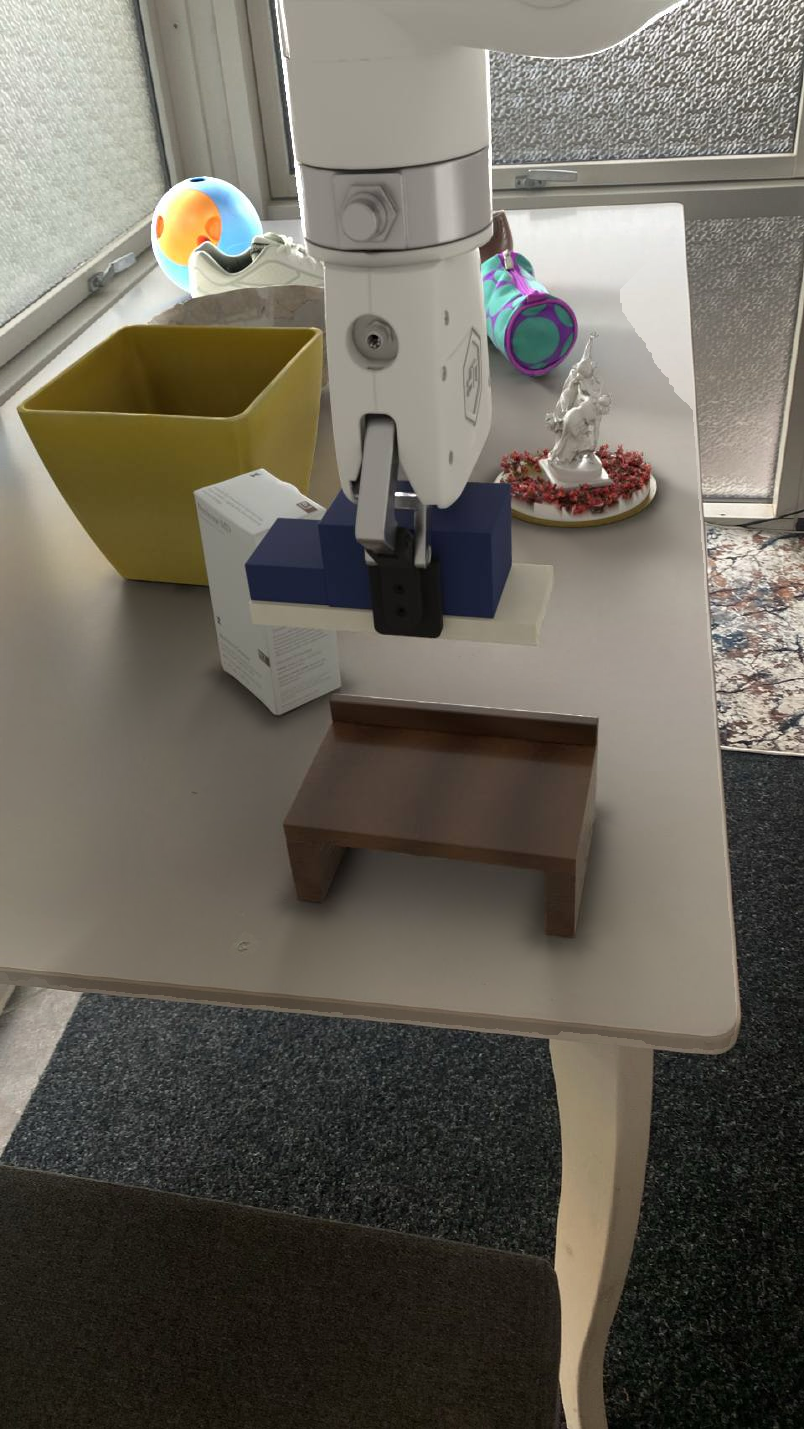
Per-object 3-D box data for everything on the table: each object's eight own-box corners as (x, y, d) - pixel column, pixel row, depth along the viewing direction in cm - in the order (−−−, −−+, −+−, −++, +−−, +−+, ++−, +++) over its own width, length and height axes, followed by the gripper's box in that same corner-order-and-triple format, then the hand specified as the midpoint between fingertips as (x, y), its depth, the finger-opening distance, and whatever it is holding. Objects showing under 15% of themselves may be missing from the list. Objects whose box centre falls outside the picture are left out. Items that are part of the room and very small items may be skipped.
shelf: (595, 814, 68) (599, 716, 64) (574, 938, 61) (576, 836, 56) (346, 787, 72) (332, 692, 68) (296, 899, 64) (277, 801, 60)
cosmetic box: (221, 671, 84) (183, 490, 75) (289, 640, 87) (259, 462, 78) (280, 721, 78) (246, 532, 69) (350, 687, 81) (327, 500, 72)
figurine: (626, 445, 110) (633, 298, 101) (680, 513, 98) (693, 353, 89) (477, 466, 109) (471, 319, 100) (513, 537, 97) (510, 378, 88)
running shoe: (420, 338, 140) (413, 237, 132) (186, 355, 141) (167, 256, 134) (421, 310, 149) (414, 214, 141) (200, 326, 150) (183, 231, 143)
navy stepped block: (553, 586, 55) (554, 482, 52) (536, 646, 51) (536, 538, 48) (288, 569, 59) (272, 471, 55) (252, 624, 55) (233, 521, 51)
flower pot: (274, 616, 90) (240, 417, 79) (66, 598, 95) (8, 408, 84) (347, 507, 104) (326, 326, 94) (163, 496, 109) (123, 323, 99)
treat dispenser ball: (285, 278, 166) (270, 165, 156) (246, 311, 154) (226, 192, 145) (190, 277, 170) (170, 167, 160) (145, 310, 158) (120, 194, 149)
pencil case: (465, 328, 141) (462, 249, 135) (533, 319, 142) (533, 240, 136) (504, 386, 125) (502, 298, 119) (581, 375, 126) (583, 288, 120)
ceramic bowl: (384, 425, 119) (375, 331, 113) (167, 459, 116) (146, 365, 110) (349, 357, 136) (340, 273, 130) (160, 385, 133) (142, 300, 127)
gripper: (441, 266, 36) (464, 710, 47) (526, 151, 49) (528, 520, 60) (226, 266, 38) (296, 695, 49) (363, 155, 51) (394, 513, 62)
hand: (424, 595), depth 54 cm, fingers closed on navy stepped block, 5 cm apart
